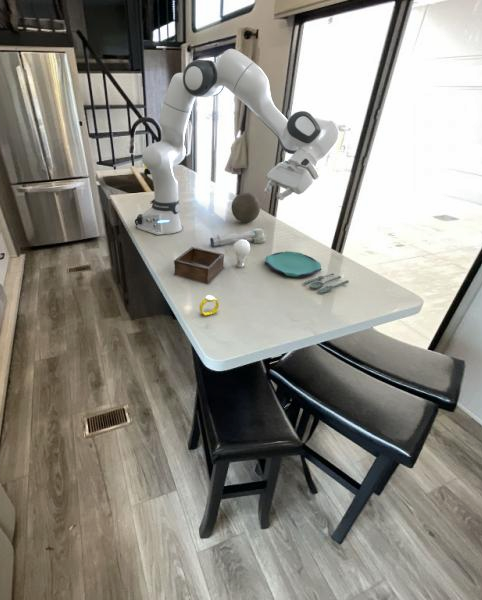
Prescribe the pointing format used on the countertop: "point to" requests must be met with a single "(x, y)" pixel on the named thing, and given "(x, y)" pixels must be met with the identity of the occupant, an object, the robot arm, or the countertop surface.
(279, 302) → the countertop surface
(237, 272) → the countertop surface
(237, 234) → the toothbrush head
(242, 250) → the lightbulb
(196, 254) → the brown wooden box
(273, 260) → the cutlery set
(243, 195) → the cantaloupe
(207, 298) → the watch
